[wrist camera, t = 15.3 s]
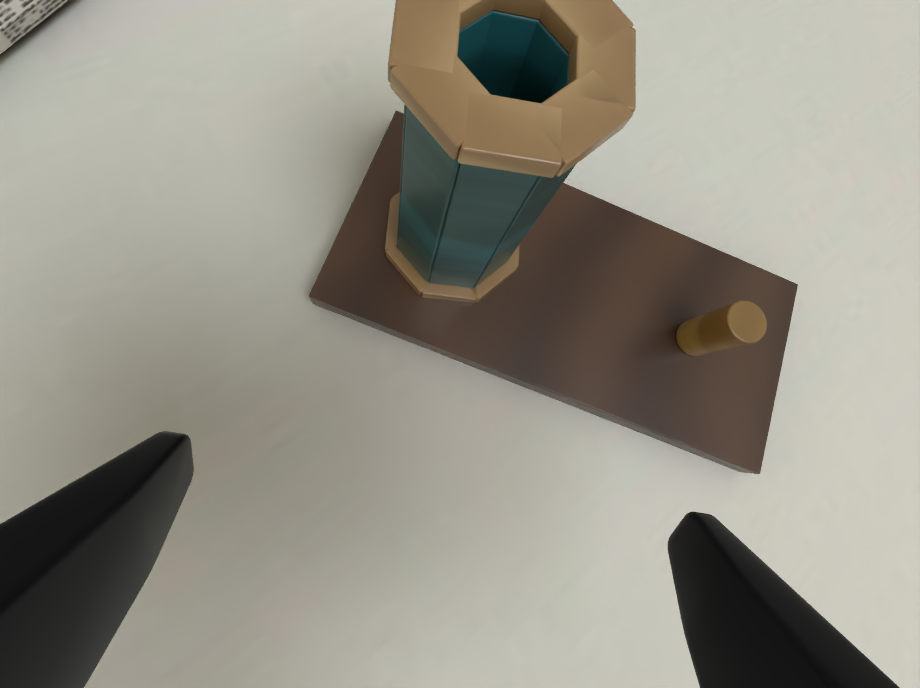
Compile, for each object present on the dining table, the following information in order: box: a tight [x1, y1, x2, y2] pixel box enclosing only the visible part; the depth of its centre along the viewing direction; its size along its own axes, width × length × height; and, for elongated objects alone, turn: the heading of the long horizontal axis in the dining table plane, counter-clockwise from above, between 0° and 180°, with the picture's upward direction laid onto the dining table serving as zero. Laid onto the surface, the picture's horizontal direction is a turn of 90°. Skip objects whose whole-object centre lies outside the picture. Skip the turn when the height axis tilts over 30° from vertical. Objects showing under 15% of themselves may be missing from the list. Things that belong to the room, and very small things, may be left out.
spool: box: [385, 0, 636, 303], centre depth 16 cm, size 6×6×11 cm
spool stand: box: [309, 111, 798, 474], centre depth 21 cm, size 22×10×5 cm, turn 70°
